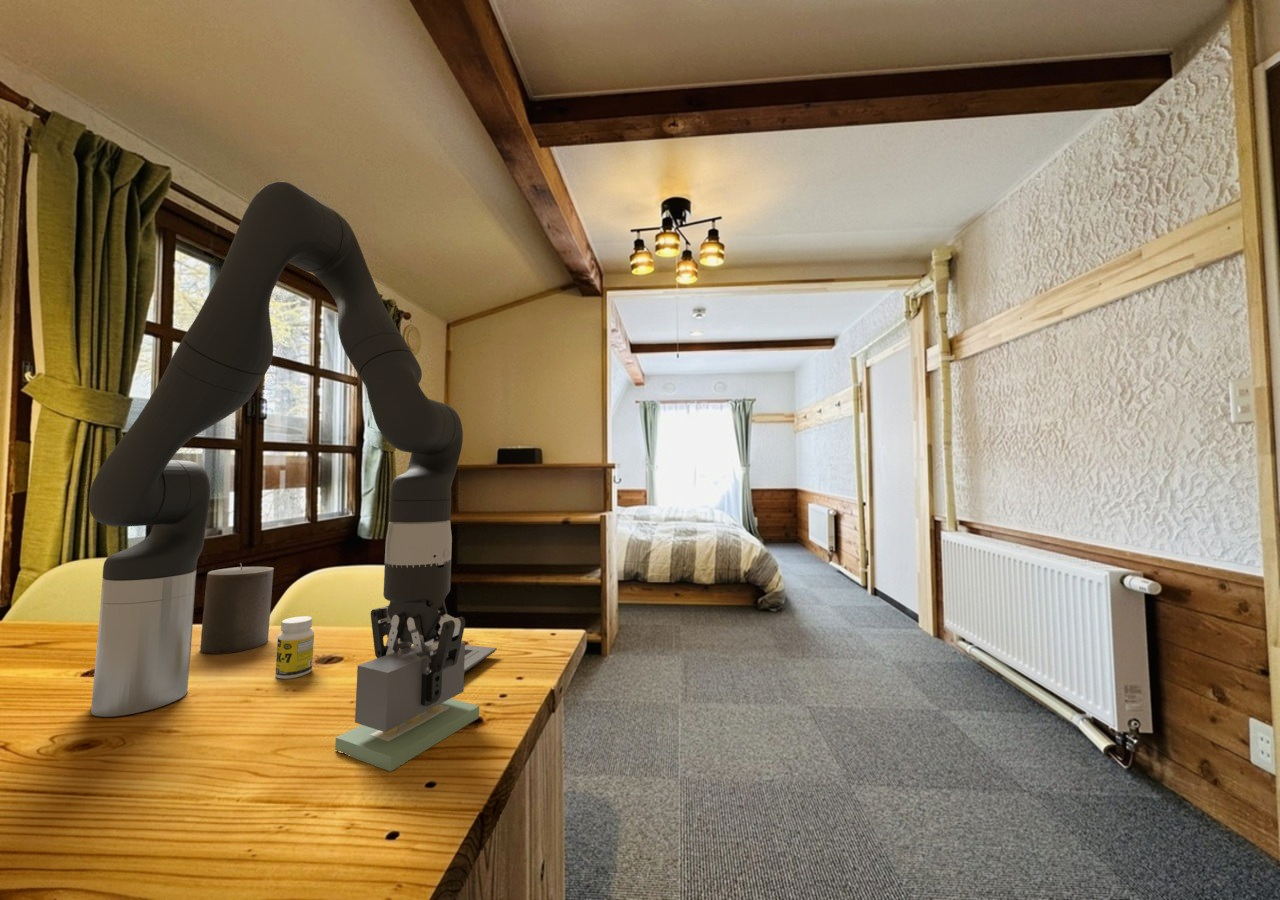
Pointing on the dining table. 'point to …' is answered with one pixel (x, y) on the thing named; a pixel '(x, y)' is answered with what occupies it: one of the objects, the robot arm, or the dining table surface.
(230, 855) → the dining table surface
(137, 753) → the dining table surface
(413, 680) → the block
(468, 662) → the electrical outlet
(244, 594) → the pillar candle
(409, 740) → the header board
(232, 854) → the dining table surface
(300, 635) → the supplement bottle
